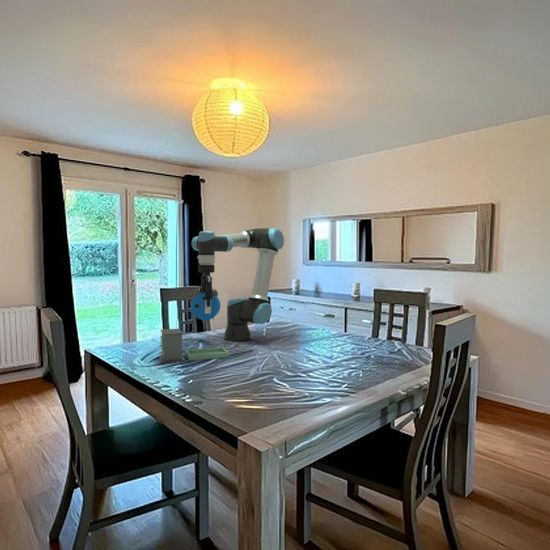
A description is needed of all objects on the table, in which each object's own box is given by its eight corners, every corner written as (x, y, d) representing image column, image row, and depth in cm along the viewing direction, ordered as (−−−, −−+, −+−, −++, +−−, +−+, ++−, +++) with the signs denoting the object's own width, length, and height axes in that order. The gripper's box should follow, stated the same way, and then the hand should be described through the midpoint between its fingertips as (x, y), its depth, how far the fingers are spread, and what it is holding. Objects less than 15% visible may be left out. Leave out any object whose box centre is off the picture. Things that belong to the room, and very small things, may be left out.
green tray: (223, 351, 205) (223, 347, 205) (229, 357, 194) (229, 352, 194) (184, 354, 198) (184, 349, 198) (188, 360, 188) (188, 355, 187)
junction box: (180, 354, 197) (180, 328, 197) (184, 361, 186) (184, 333, 185) (159, 356, 194) (159, 329, 193) (161, 363, 183) (161, 334, 182)
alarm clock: (220, 319, 198) (220, 288, 197) (218, 321, 192) (218, 289, 191) (193, 318, 198) (193, 287, 197) (190, 320, 192) (190, 288, 191)
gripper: (194, 263, 202) (194, 309, 203) (202, 265, 182) (202, 315, 184) (209, 263, 204) (209, 308, 206) (219, 265, 185) (218, 315, 187)
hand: (206, 311), depth 195 cm, fingers closed on alarm clock, 8 cm apart
